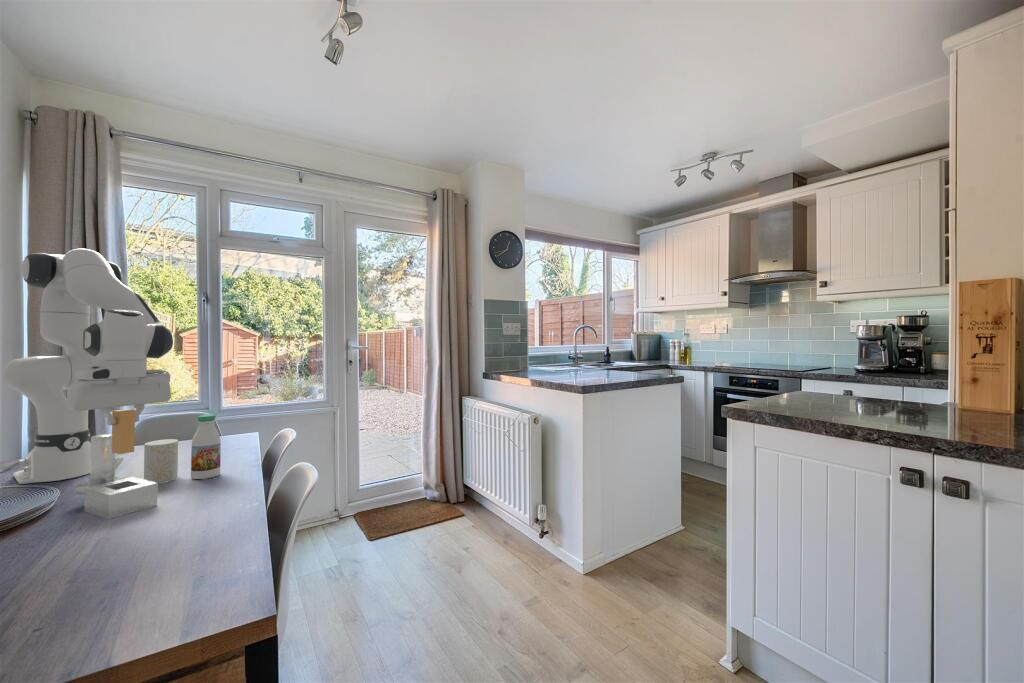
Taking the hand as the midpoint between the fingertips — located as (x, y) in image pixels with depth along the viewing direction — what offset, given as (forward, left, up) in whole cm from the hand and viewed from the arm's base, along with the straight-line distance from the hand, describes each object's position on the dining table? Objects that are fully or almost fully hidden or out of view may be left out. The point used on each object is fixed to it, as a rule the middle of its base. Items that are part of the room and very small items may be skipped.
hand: (123, 423), depth 108 cm
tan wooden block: (0, 0, -8) cm, 8 cm away
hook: (-21, +6, -23) cm, 31 cm away
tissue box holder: (-5, 0, -22) cm, 23 cm away
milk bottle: (-8, +25, -23) cm, 35 cm away
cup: (-17, +17, -23) cm, 33 cm away
